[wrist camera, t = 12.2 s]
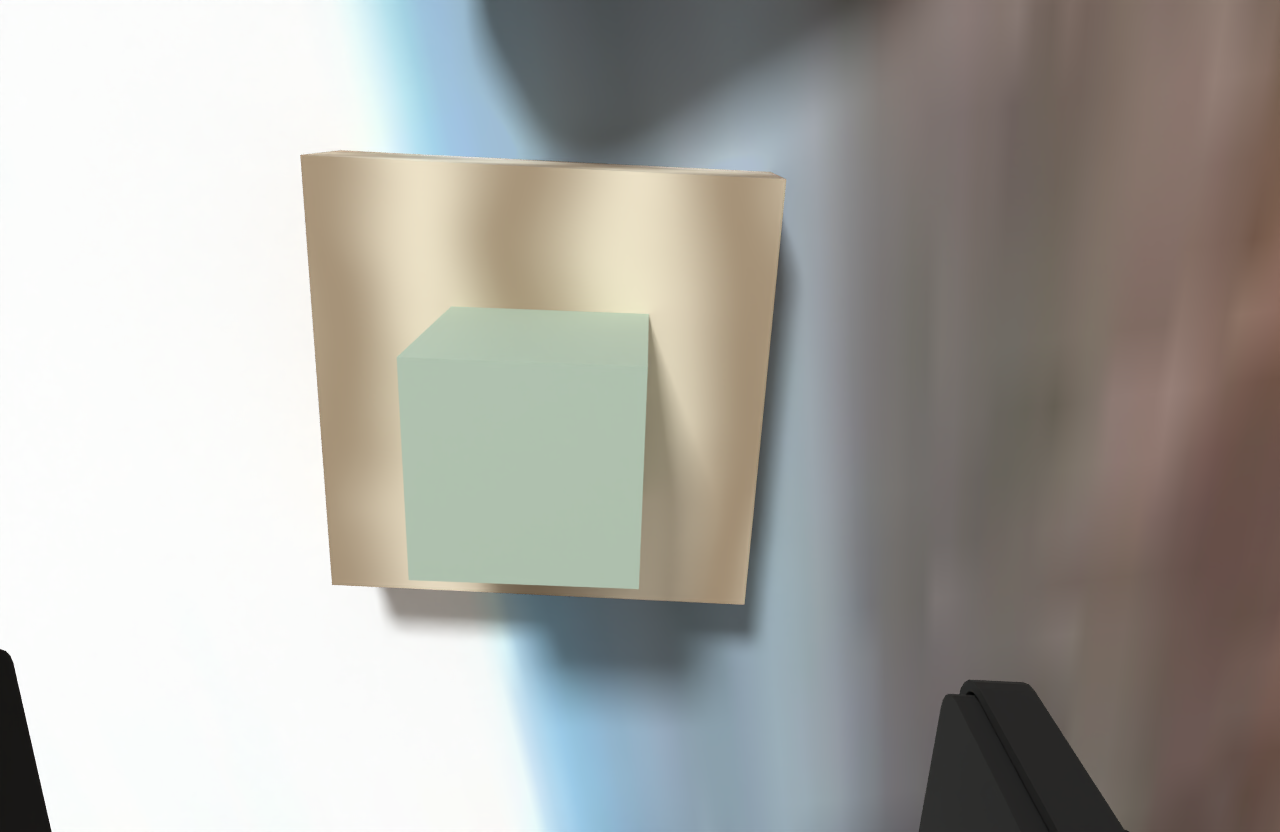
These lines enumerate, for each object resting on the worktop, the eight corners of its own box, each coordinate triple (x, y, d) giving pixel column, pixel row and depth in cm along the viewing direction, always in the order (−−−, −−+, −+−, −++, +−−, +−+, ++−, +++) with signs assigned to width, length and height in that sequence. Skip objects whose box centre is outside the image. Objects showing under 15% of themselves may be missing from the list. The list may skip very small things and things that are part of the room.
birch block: (768, 170, 29) (786, 179, 25) (733, 549, 34) (744, 604, 30) (346, 149, 29) (300, 154, 25) (368, 531, 34) (332, 584, 30)
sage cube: (648, 314, 27) (647, 366, 21) (641, 495, 29) (638, 589, 23) (451, 306, 27) (396, 357, 21) (457, 488, 29) (409, 580, 23)
